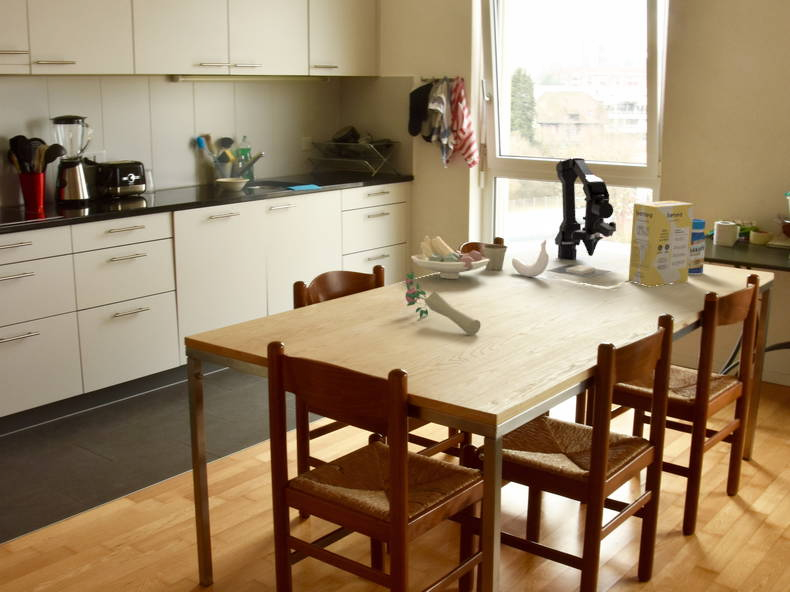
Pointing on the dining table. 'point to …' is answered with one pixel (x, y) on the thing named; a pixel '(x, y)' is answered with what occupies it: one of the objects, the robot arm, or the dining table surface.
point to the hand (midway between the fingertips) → (590, 255)
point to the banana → (534, 268)
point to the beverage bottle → (697, 248)
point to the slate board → (587, 275)
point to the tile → (580, 269)
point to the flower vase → (440, 307)
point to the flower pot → (495, 256)
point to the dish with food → (447, 259)
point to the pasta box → (661, 242)
